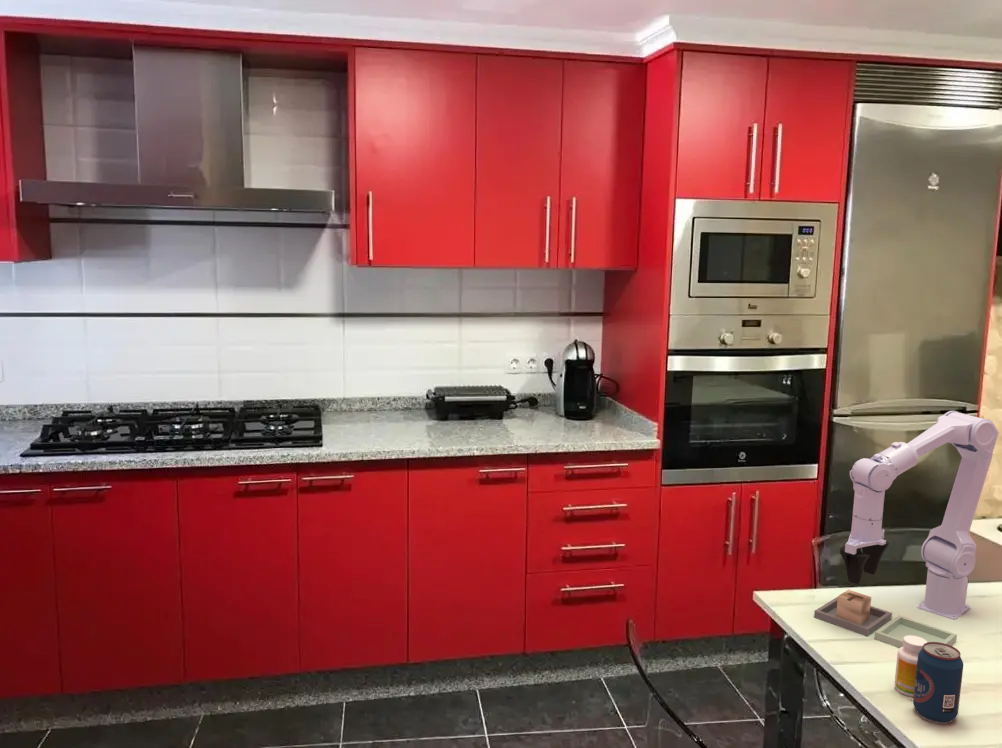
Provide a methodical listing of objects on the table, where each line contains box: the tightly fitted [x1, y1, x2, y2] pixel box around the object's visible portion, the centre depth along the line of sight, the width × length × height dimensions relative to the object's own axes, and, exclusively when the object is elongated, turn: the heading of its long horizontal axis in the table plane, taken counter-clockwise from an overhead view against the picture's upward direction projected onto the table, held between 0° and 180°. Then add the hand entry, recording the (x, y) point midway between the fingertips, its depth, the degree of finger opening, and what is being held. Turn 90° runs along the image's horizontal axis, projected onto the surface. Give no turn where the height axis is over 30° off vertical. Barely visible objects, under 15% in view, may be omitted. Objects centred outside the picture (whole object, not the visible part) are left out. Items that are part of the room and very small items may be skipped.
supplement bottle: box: [894, 635, 927, 698], centre depth 152 cm, size 5×5×10 cm
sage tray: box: [873, 614, 958, 649], centre depth 172 cm, size 12×12×2 cm
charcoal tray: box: [813, 596, 893, 638], centre depth 181 cm, size 12×12×2 cm
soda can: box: [912, 642, 964, 724], centre depth 145 cm, size 7×7×12 cm
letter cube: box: [836, 589, 872, 625], centre depth 180 cm, size 5×5×5 cm
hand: (861, 577), depth 179 cm, fingers open, 7 cm apart
